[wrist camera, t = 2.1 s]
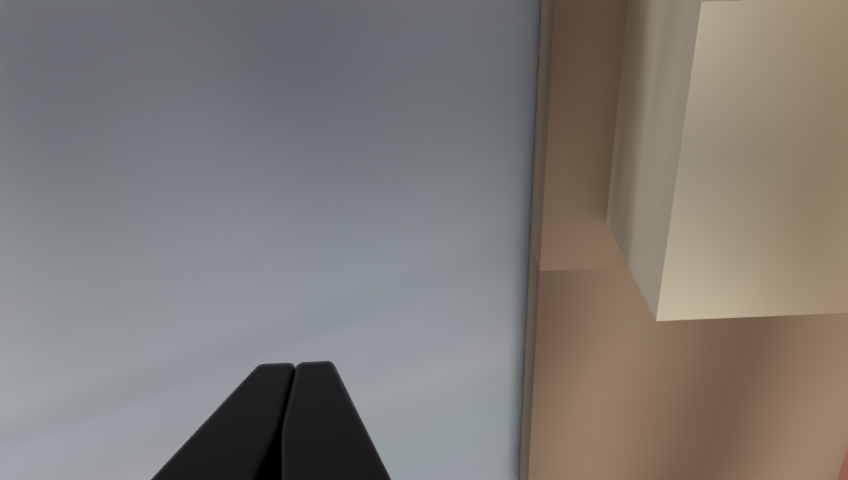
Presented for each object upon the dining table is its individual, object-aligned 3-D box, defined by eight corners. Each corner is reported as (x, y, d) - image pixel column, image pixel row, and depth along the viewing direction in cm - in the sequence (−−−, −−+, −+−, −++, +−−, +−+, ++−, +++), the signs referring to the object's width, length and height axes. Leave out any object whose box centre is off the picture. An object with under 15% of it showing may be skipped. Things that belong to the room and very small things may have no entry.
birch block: (606, 222, 19) (656, 321, 15) (632, -45, 16) (701, 1, 12) (858, 212, 19) (964, 307, 16) (931, -55, 16) (1081, -11, 13)
